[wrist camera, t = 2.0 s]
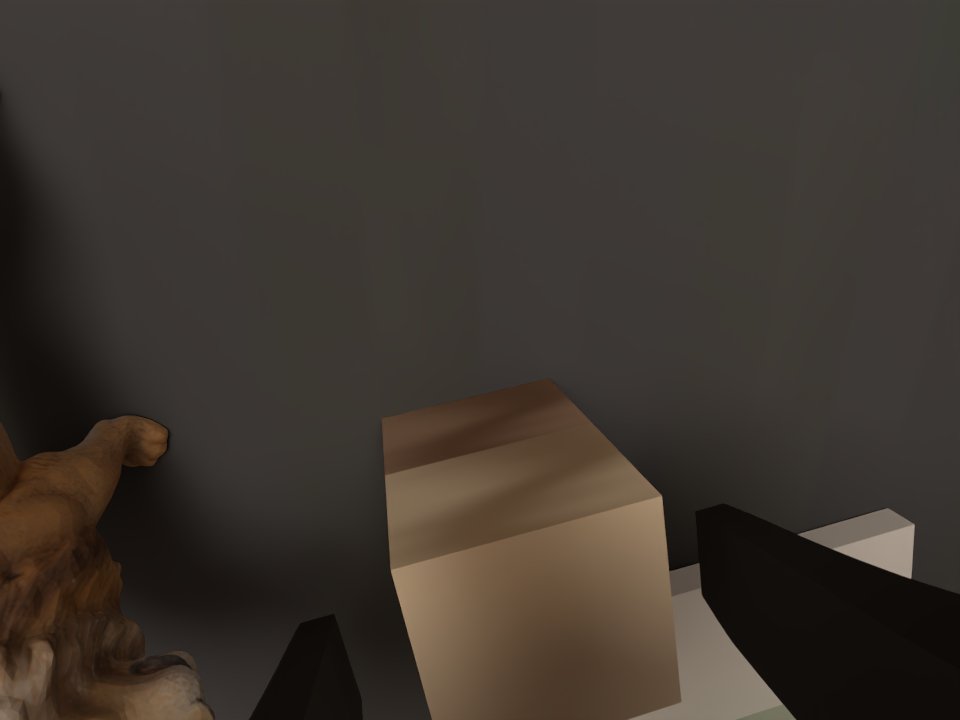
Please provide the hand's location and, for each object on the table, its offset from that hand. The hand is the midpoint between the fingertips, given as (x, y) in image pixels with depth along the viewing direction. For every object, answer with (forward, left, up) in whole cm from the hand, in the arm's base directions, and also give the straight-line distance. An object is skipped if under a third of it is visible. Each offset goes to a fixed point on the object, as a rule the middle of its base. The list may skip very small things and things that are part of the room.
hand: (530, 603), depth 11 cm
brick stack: (0, 0, -5) cm, 5 cm away
